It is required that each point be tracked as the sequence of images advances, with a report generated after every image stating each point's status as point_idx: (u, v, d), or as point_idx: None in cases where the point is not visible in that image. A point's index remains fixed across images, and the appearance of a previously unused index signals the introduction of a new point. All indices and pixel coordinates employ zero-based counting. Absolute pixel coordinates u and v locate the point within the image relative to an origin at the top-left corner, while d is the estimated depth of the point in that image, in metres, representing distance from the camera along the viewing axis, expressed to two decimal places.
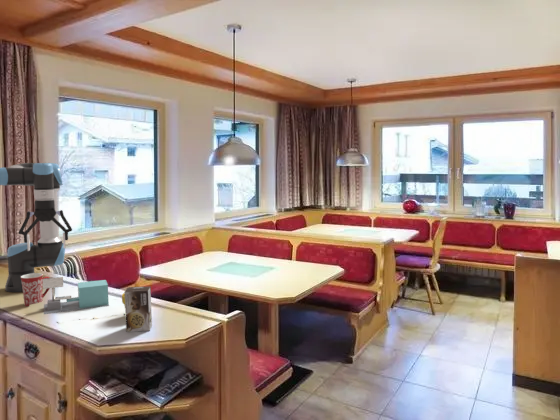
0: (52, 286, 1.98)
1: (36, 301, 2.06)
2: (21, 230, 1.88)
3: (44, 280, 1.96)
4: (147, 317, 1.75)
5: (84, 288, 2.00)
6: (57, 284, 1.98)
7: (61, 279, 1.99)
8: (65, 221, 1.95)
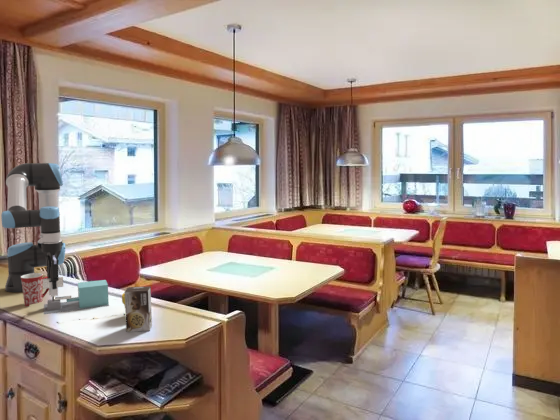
0: None
1: (36, 301, 2.06)
2: (47, 274, 2.00)
3: (44, 280, 1.96)
4: (147, 317, 1.75)
5: (84, 288, 2.00)
6: (57, 284, 1.98)
7: (61, 279, 1.99)
8: (51, 270, 1.93)
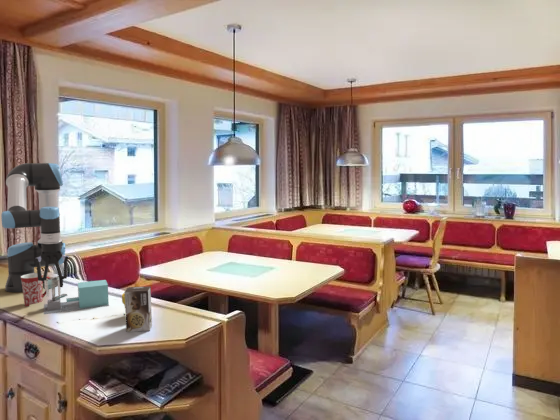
0: (54, 286, 1.98)
1: (36, 301, 2.06)
2: (39, 276, 1.95)
3: (48, 281, 1.95)
4: (147, 317, 1.75)
5: (84, 288, 2.00)
6: (57, 283, 2.00)
7: None
8: (65, 267, 1.98)
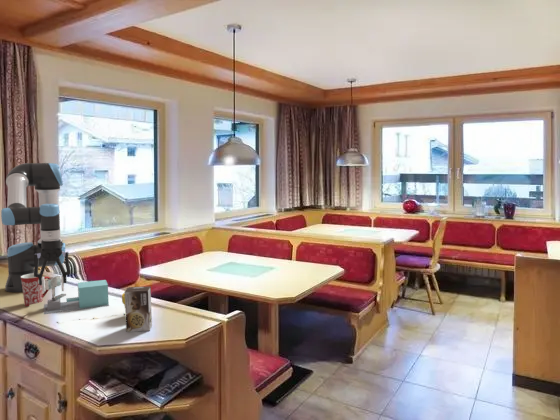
0: (54, 286, 1.98)
1: (36, 301, 2.06)
2: (35, 273, 1.95)
3: (49, 281, 1.95)
4: (147, 317, 1.75)
5: (84, 288, 2.00)
6: (57, 283, 2.00)
7: (59, 278, 2.01)
8: (67, 263, 1.99)
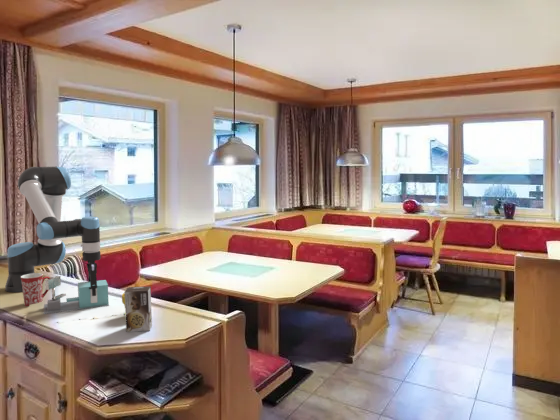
0: (54, 286, 1.98)
1: (36, 301, 2.06)
2: (88, 276, 2.12)
3: (49, 281, 1.95)
4: (147, 317, 1.75)
5: (84, 288, 2.00)
6: (57, 283, 2.00)
7: (59, 278, 2.01)
8: (90, 277, 1.98)
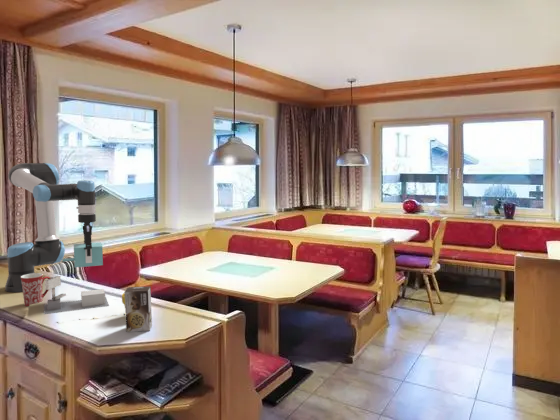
0: (54, 286, 1.98)
1: (36, 301, 2.06)
2: None
3: (49, 281, 1.95)
4: (147, 317, 1.75)
5: (79, 248, 2.07)
6: (57, 283, 2.00)
7: (59, 278, 2.01)
8: (85, 238, 2.06)
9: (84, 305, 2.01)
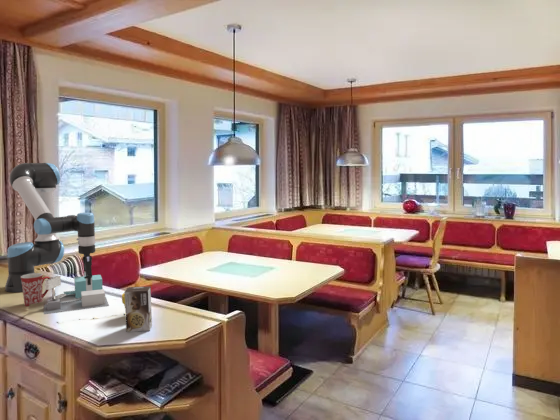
0: (54, 286, 1.98)
1: (36, 301, 2.06)
2: None
3: (49, 281, 1.95)
4: (147, 317, 1.75)
5: (80, 282, 2.14)
6: (57, 283, 2.00)
7: (59, 278, 2.01)
8: (85, 267, 2.12)
9: (84, 305, 2.01)
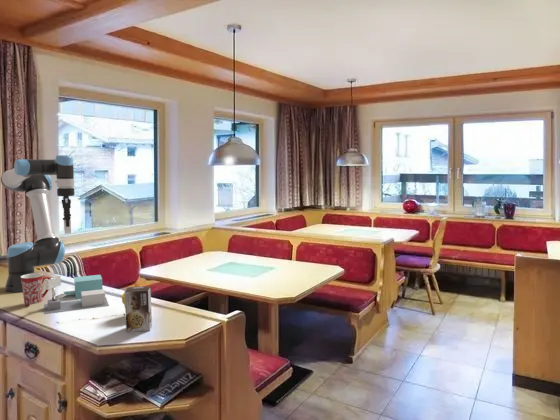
0: (54, 286, 1.98)
1: (36, 301, 2.06)
2: None
3: (49, 281, 1.95)
4: (147, 317, 1.75)
5: (80, 282, 2.14)
6: (57, 283, 2.00)
7: (59, 278, 2.01)
8: (64, 209, 2.11)
9: (84, 305, 2.01)
